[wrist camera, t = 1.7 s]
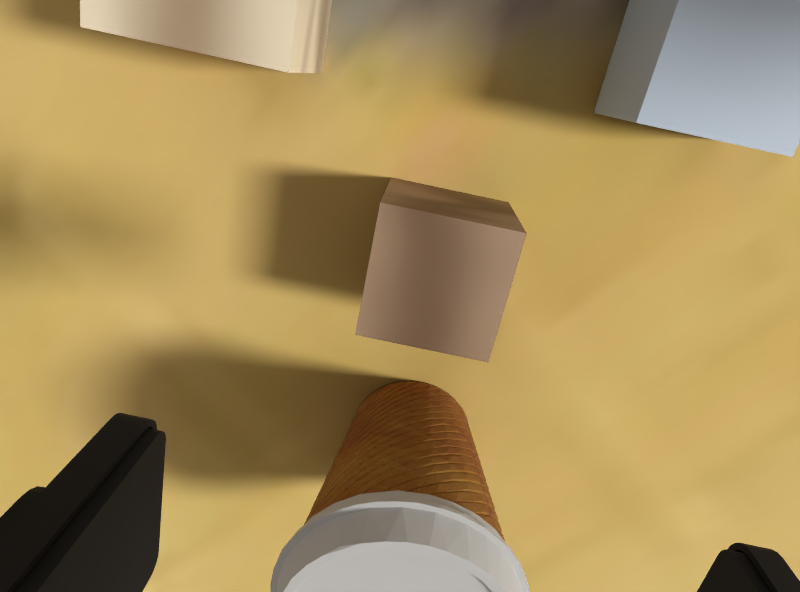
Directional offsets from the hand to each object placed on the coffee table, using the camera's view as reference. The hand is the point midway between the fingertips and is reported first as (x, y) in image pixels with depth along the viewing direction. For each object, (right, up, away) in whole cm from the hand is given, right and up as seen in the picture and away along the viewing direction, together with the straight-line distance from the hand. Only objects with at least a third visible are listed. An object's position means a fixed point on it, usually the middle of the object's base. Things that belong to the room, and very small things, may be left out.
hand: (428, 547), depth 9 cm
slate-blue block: (+11, +14, +14) cm, 23 cm away
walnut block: (+1, +7, +17) cm, 19 cm away
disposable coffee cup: (0, -3, +21) cm, 21 cm away
